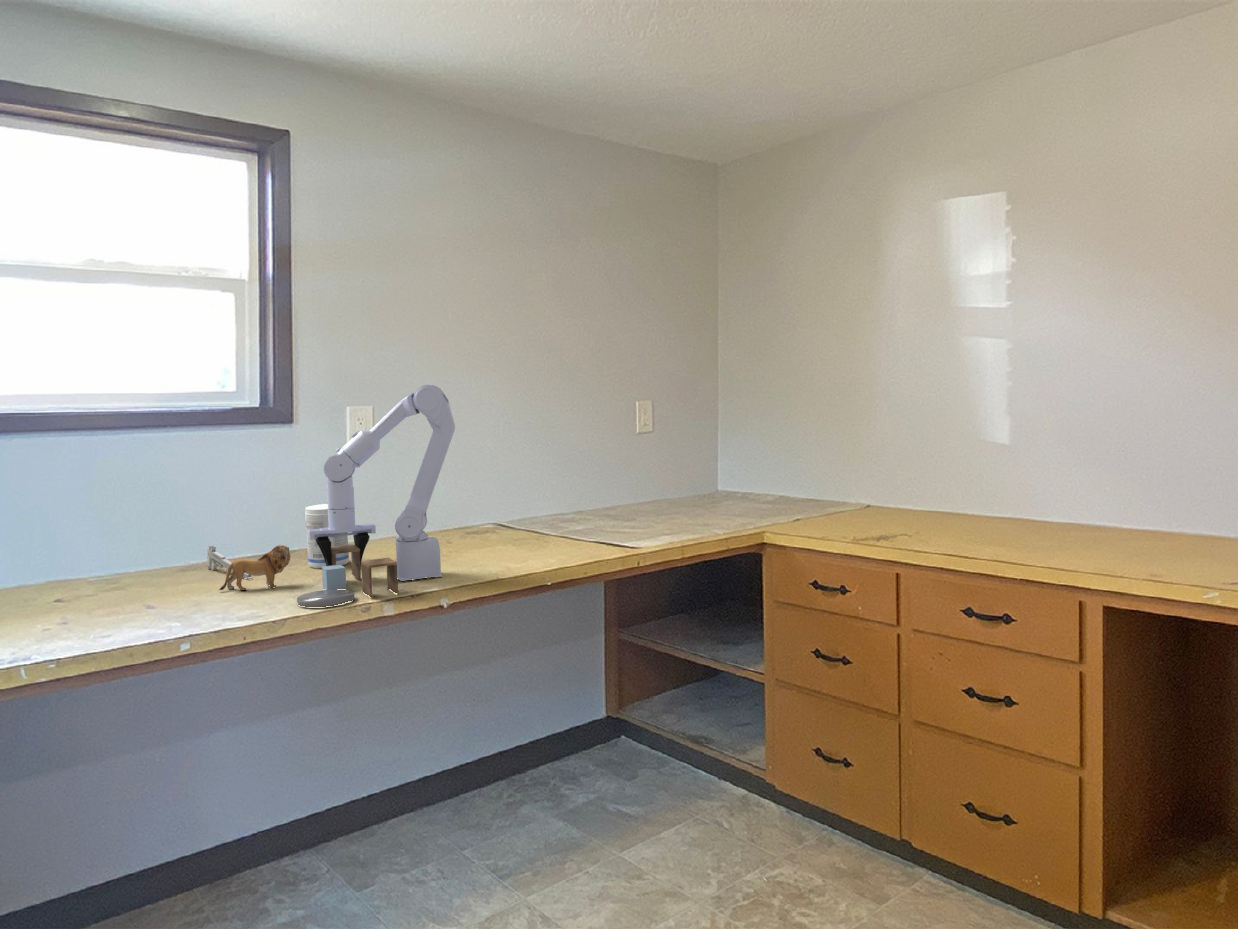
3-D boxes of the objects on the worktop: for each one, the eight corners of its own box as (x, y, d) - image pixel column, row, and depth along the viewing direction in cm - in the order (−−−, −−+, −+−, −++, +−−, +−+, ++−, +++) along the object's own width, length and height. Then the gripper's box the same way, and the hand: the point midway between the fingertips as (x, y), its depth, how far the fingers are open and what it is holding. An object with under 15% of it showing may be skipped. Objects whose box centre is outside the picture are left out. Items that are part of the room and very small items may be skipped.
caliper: (207, 570, 206) (205, 545, 206) (212, 569, 207) (210, 544, 206) (249, 581, 193) (248, 554, 193) (254, 580, 194) (253, 553, 194)
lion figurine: (289, 581, 191) (287, 542, 191) (293, 586, 187) (291, 545, 186) (218, 590, 184) (215, 549, 183) (220, 595, 179) (218, 553, 179)
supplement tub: (344, 559, 216) (341, 502, 214) (353, 566, 207) (350, 506, 206) (304, 564, 211) (301, 505, 209) (311, 571, 202) (309, 510, 201)
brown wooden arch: (354, 573, 195) (353, 544, 194) (360, 579, 190) (359, 549, 189) (328, 577, 192) (327, 546, 191) (334, 583, 187) (333, 552, 186)
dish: (346, 592, 180) (346, 587, 179) (360, 603, 170) (360, 597, 170) (292, 600, 174) (292, 594, 174) (303, 611, 164) (303, 605, 164)
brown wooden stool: (389, 590, 182) (388, 557, 181) (398, 595, 177) (396, 562, 176) (362, 593, 179) (361, 561, 178) (370, 599, 174) (368, 565, 173)
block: (341, 587, 185) (340, 564, 185) (346, 590, 182) (345, 567, 182) (322, 589, 183) (321, 566, 183) (327, 593, 180) (326, 569, 179)
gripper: (368, 503, 197) (371, 561, 198) (303, 508, 190) (306, 568, 191) (377, 506, 191) (379, 566, 192) (310, 512, 184) (313, 574, 185)
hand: (343, 567), depth 191 cm, fingers closed on brown wooden arch, 6 cm apart
